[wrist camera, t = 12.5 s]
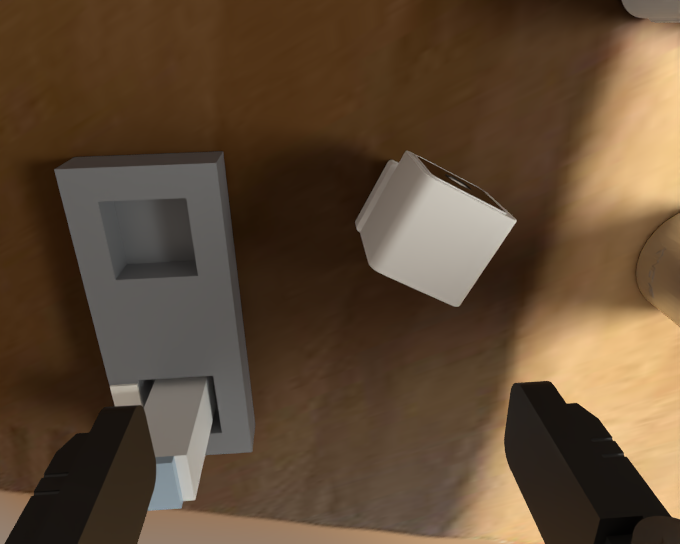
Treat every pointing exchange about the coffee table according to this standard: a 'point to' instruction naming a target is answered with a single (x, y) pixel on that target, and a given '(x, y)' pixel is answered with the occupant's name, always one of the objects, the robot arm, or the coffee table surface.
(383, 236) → the white cube on bracket
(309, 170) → the coffee table surface
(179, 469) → the plug
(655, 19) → the photo printer
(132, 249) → the socket panel
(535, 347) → the coffee table surface
